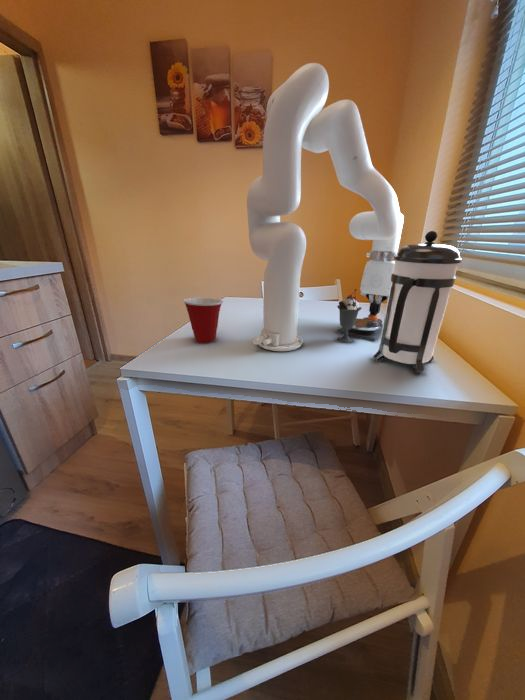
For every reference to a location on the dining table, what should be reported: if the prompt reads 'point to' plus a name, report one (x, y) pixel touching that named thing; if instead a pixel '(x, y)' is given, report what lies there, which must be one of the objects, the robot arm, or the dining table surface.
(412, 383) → the dining table surface
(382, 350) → the coffee press
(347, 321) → the sundae
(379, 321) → the scale
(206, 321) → the plastic cup
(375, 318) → the tare button
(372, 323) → the pan
